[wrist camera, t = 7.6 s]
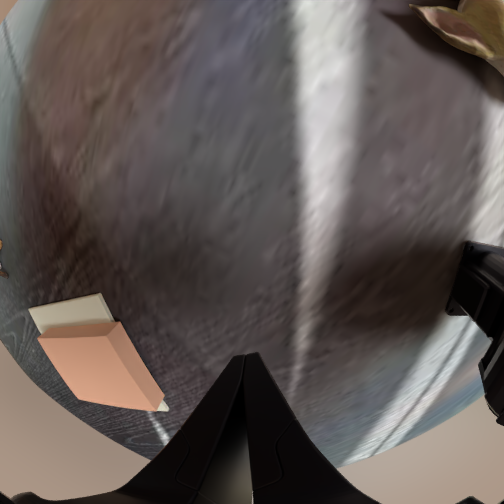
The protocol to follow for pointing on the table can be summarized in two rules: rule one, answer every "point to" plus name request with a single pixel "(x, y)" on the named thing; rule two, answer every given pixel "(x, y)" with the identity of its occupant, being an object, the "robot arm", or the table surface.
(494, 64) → the ceramic sculpture
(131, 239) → the table surface
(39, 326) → the rubber mat
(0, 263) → the lion figurine
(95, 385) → the terracotta board
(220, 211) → the table surface
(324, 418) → the table surface
